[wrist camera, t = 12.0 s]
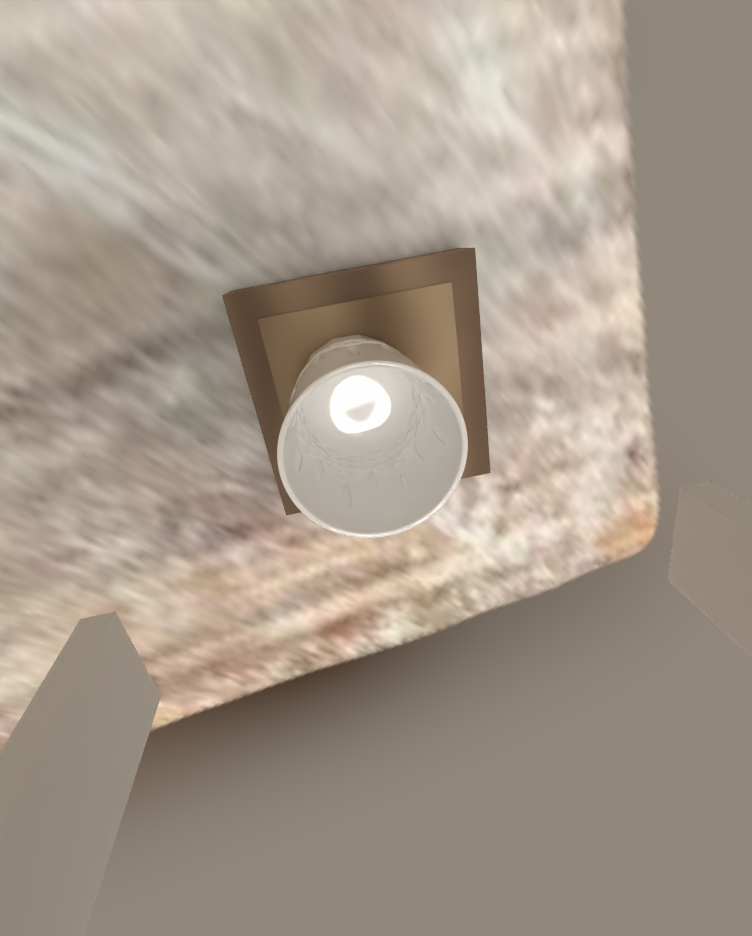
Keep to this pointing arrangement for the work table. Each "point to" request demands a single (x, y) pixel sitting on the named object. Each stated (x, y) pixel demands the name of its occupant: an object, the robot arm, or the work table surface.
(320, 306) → the base
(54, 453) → the work table surface
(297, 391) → the white cup
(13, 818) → the robot arm
